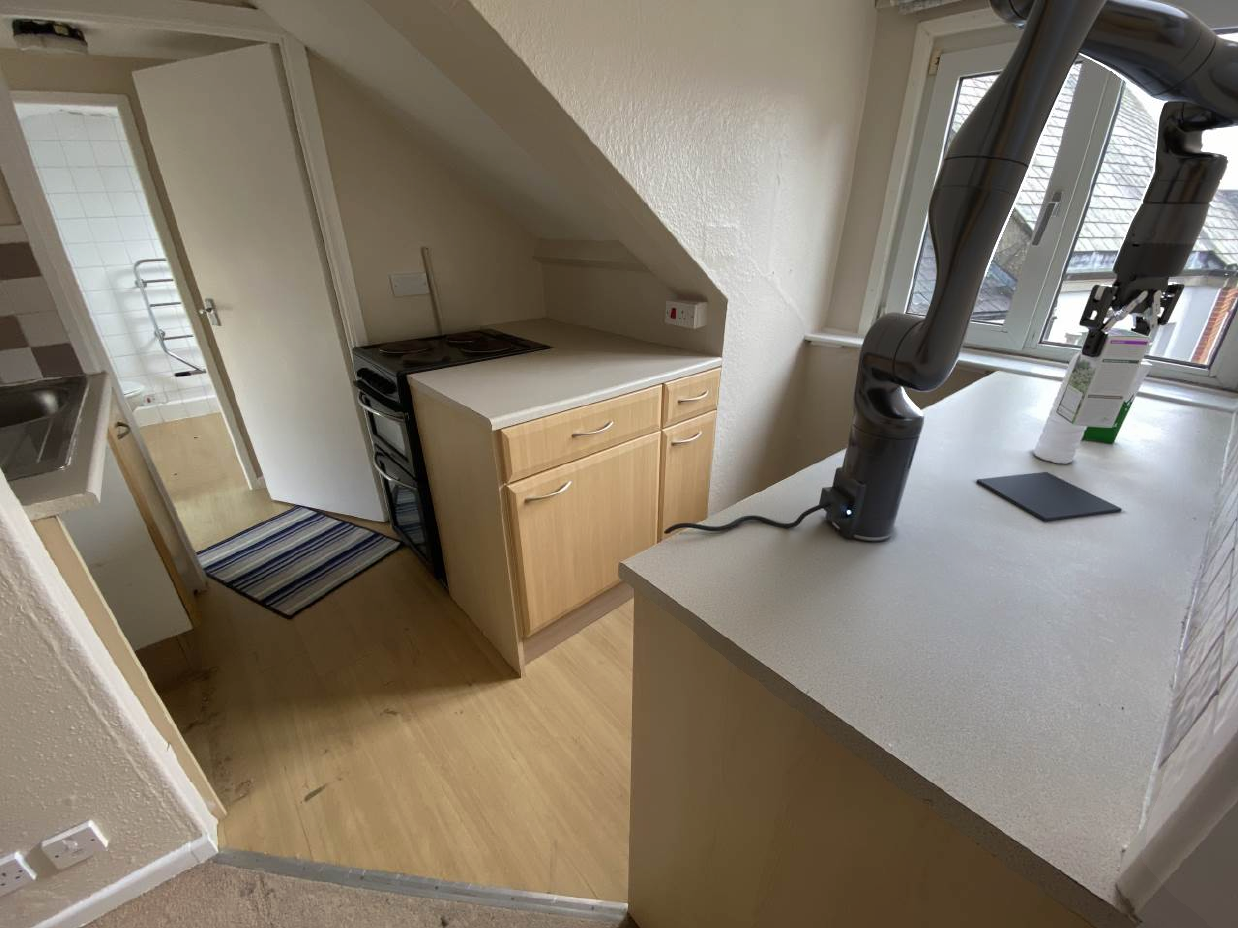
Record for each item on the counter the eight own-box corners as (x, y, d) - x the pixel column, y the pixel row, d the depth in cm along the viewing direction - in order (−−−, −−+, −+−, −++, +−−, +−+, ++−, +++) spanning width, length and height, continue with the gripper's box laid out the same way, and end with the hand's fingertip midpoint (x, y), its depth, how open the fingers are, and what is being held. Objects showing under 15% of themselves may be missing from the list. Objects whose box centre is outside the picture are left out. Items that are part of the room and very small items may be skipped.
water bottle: (1073, 457, 110) (1126, 337, 99) (1069, 467, 106) (1124, 342, 94) (1023, 445, 115) (1068, 329, 104) (1017, 454, 111) (1064, 334, 100)
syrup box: (1113, 428, 83) (1156, 337, 77) (1071, 425, 84) (1110, 334, 78) (1092, 415, 88) (1131, 328, 82) (1053, 412, 89) (1088, 326, 83)
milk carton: (1104, 431, 123) (1143, 346, 114) (1120, 446, 115) (1163, 356, 106) (1059, 425, 126) (1093, 341, 117) (1071, 439, 118) (1110, 351, 109)
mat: (1044, 521, 87) (1046, 518, 87) (976, 482, 99) (977, 479, 99) (1120, 511, 90) (1122, 508, 90) (1045, 474, 103) (1046, 471, 102)
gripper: (1169, 236, 79) (1121, 346, 86) (1091, 238, 76) (1049, 351, 83) (1230, 240, 72) (1173, 358, 80) (1147, 242, 69) (1096, 364, 77)
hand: (1110, 354), depth 81 cm, fingers closed on syrup box, 7 cm apart
